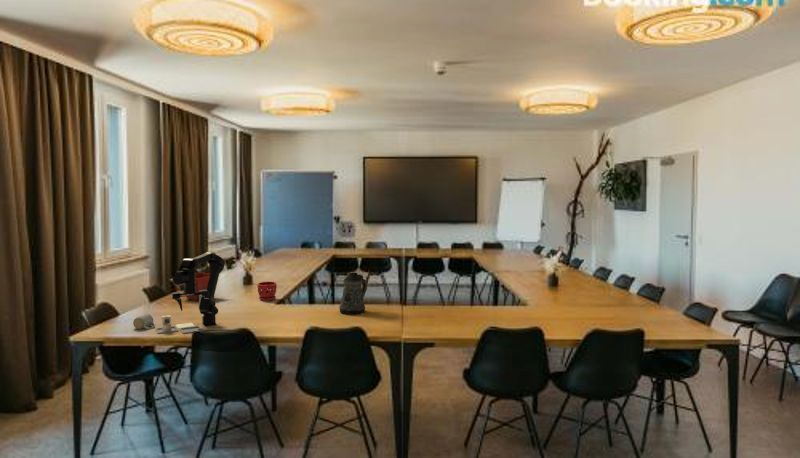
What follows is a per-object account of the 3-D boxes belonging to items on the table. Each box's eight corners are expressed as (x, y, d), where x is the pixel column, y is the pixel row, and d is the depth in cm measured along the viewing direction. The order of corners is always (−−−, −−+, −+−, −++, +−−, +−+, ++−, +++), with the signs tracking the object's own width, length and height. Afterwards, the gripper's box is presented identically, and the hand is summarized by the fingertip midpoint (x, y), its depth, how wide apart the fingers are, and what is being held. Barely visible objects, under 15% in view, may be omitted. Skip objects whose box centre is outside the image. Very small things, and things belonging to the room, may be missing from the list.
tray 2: (199, 328, 304) (198, 325, 304) (202, 332, 295) (202, 330, 295) (179, 330, 298) (179, 328, 298) (182, 334, 290) (182, 332, 290)
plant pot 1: (219, 297, 388) (219, 274, 387) (197, 302, 372) (196, 278, 370) (202, 294, 398) (201, 272, 397) (179, 299, 382) (179, 275, 381)
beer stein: (335, 314, 338) (335, 274, 336) (345, 307, 357) (345, 270, 355) (360, 315, 334) (360, 276, 332) (369, 309, 353) (369, 271, 351)
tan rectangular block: (170, 329, 299) (169, 315, 298) (171, 330, 296) (170, 316, 295) (162, 330, 297) (161, 315, 296) (163, 331, 293) (163, 317, 293)
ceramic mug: (132, 329, 300) (131, 316, 299) (142, 326, 308) (142, 312, 307) (148, 331, 297) (148, 317, 297) (158, 327, 305) (158, 314, 305)
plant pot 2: (257, 298, 386) (256, 281, 385) (275, 297, 390) (275, 281, 389) (258, 302, 373) (257, 285, 373) (277, 301, 377) (277, 284, 376)
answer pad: (191, 323, 313) (191, 322, 313) (194, 327, 306) (194, 326, 306) (175, 325, 309) (175, 324, 309) (177, 329, 301) (177, 328, 301)
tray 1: (175, 328, 303) (175, 326, 303) (178, 332, 295) (178, 330, 295) (155, 330, 298) (155, 328, 298) (158, 334, 289) (157, 332, 289)
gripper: (204, 278, 306) (205, 305, 308) (169, 280, 297) (170, 308, 298) (208, 281, 297) (209, 309, 298) (172, 284, 287) (173, 312, 288)
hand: (190, 309), depth 296 cm, fingers open, 9 cm apart
